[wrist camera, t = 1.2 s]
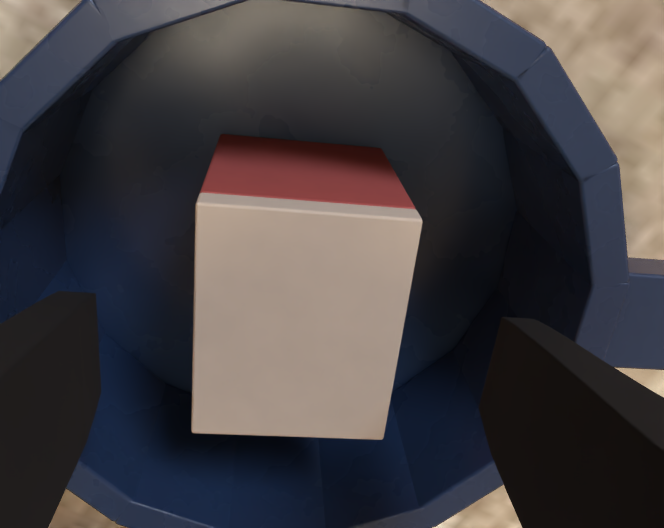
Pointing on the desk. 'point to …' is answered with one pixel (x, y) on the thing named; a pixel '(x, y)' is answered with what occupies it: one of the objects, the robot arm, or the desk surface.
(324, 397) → the red two-tone block
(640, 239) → the desk surface
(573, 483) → the robot arm
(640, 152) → the desk surface
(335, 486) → the pot
